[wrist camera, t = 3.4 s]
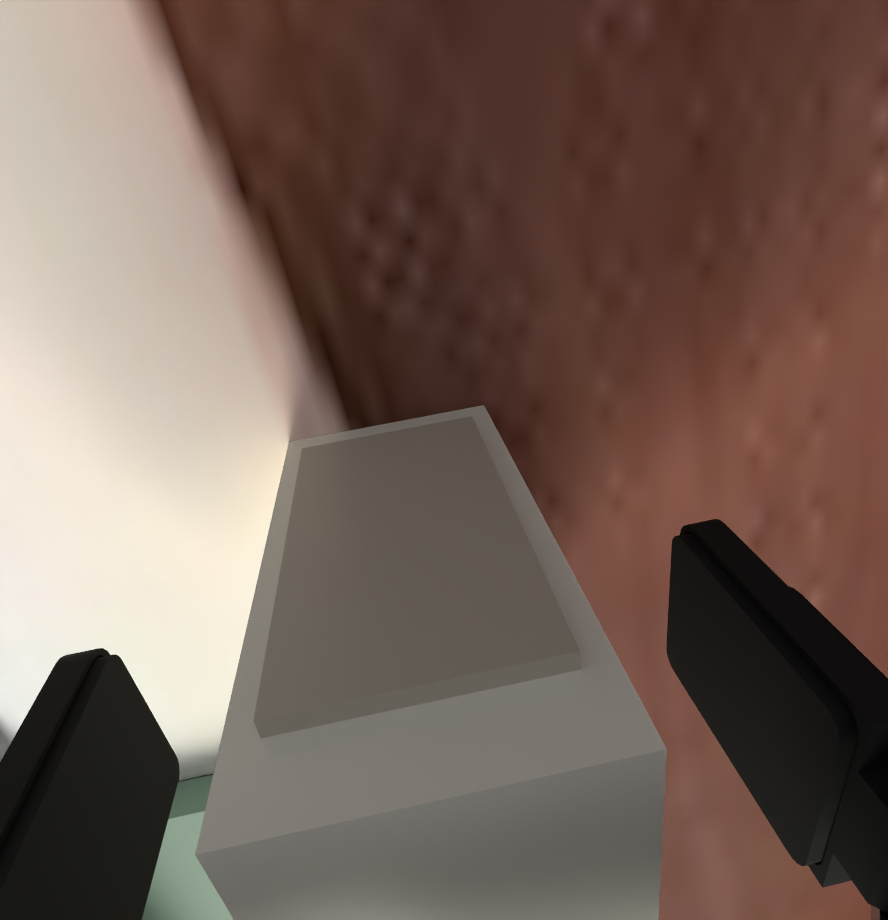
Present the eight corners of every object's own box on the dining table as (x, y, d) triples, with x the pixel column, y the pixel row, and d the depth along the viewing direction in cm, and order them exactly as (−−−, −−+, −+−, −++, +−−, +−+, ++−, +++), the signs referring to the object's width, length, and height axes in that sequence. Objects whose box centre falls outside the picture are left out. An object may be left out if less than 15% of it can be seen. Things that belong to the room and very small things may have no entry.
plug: (482, 393, 12) (668, 729, 5) (510, 623, 15) (653, 1043, 8) (285, 430, 12) (183, 837, 5) (353, 657, 15) (352, 1119, 8)
